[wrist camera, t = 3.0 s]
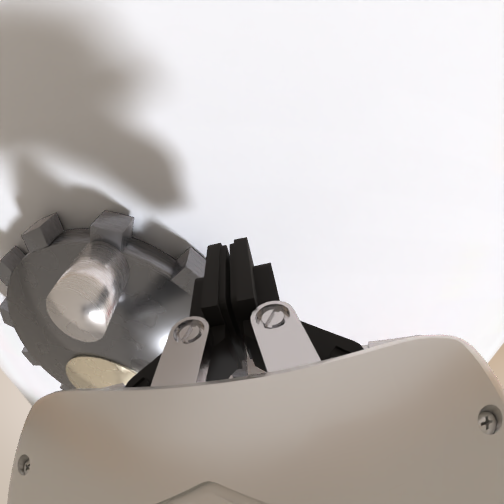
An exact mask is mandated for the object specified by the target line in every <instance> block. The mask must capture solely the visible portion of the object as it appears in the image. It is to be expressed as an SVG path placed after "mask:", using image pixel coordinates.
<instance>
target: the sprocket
mask: <svg viewBox="0 0 504 504" xmlns="http://www.w3.org/2000/svg"><path fill="white" fill-rule="evenodd" d="M133 223H134V217H131V216H127V215H123V214H119V213H115V212H111V211H107V210H105V211H104V212H103V213H102V214H101V215H100V216H99V217H98V218H97V219H96V220H95V221H94V222H93V223H92V224H91V225H90V229H85V228H82V229H71V230H65V231H63V230H64V229H63V227H62V224H61V222H60V220H59V217H58V215H57V213H54V214H52V215H50V216H47V217H45V218H43V219H41V220H39V221H37V222H36V223H35V224H34V225H32V226H31V227H30V228H29V229H28V230H27V231H25V232H24V233H23V234H22V235H21V236H22V238H23V240H24V242H25V244H26V246H27V248H28V250H29V253H28V254H27V255H25V254H24V253H23V252H22V251H21V250H20V249H19V248H18V247H17V246H15V247H14V248H13V249H11V250H10V251H9V252H8V253H7V254H6V255H5V256H4V257H3V258H2V259H1V261H0V280H1V281H2V282H3V283H4V284H5V285H6V286H8V290H7V297H6V298H5V300H4V301H3V302H2V303H1V305H0V312H1V315H2V318H3V321H4V323H6V324H8V325H10V326H12V327H14V328H15V330H16V332H17V334H18V336H19V338H20V340H21V341H22V343H23V344H24V346H25V347H24V348H23V350H22V353H23V354H24V355H25V357H26V358H27V359H28V360H29V361H30V362H31V363H32V365H41V366H42V368H44V369H45V370H46V371H47V372H48V373H49V374H50V375H51V376H53V377H54V378H55V379H56V380H58V381H59V382H60V383H62V384H61V386H60V388H61V389H62V390H67V389H78V388H103V387H108V386H112V385H116V384H120V383H124V385H126V384H127V382H128V381H129V380H130V379H131V378H132V377H133V376H135V375H136V374H137V373H138V372H139V371H141V370H142V369H143V368H144V367H146V366H147V365H148V364H149V363H150V362H152V361H153V360H154V359H155V358H156V357H158V356H159V355H160V354H161V353H162V352H163V349H164V346H165V344H166V341H167V338H168V335H169V333H170V331H171V329H172V327H173V326H174V325H175V324H176V323H177V322H179V321H180V320H182V319H184V318H187V317H189V316H190V309H191V302H192V295H193V288H194V282H195V279H196V278H201V277H204V273H205V264H206V259H204V258H203V257H202V256H201V255H200V254H199V253H197V252H196V251H195V250H194V249H193V248H192V247H190V248H189V249H187V250H186V251H185V252H184V253H183V254H182V255H181V256H180V257H179V258H178V259H177V260H175V259H174V258H172V257H171V256H169V255H167V254H166V253H164V252H162V251H160V250H159V249H157V248H155V247H153V246H151V245H149V244H147V243H144V242H142V241H140V240H138V239H135V238H132V230H133ZM246 349H247V348H246ZM242 366H243V369H238V370H236V371H235V372H234V373H233V374H232V376H233V378H237V377H244V376H248V373H247V361H246V360H243V361H242Z"/></svg>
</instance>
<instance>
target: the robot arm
mask: <svg viewBox="0 0 504 504" xmlns="http://www.w3.org/2000/svg"><path fill="white" fill-rule="evenodd" d="M246 348H247V351H248V354H249V356H250V359H253V361H254V364H255V366H257V367H258V368H260V369H262V370H264V371H266V373H261V374H256V375H250V376H244V377H237V378H233V376H232V374H233V373H234V372H235V371H236V370H238V369H243V366H242V361H243V360H247V355H246ZM7 504H504V388H503V387H502V385H501V383H500V382H499V380H498V379H497V377H496V375H495V374H494V372H493V371H492V369H491V368H490V367H489V365H488V364H487V362H486V361H485V360H484V358H483V357H482V356H481V355H480V354H479V353H478V351H477V350H476V349H475V348H474V347H473V346H472V345H470V344H469V343H468V342H466V341H465V340H463V339H461V338H458V337H455V336H449V335H416V336H410V337H403V338H395V339H388V340H379V341H370V342H368V345H362V346H361V345H360V344H358V343H357V342H355V341H353V340H350V339H347V338H344V337H342V336H339V335H336V334H333V333H331V332H328V331H325V330H323V329H320V328H318V327H315V326H312V325H310V324H307V323H305V322H302V321H300V320H299V318H298V316H297V314H296V312H295V311H294V309H293V308H292V306H291V305H290V304H288V303H286V302H282V301H280V300H279V295H278V291H277V287H276V283H275V279H274V275H273V271H272V267H271V263H267V264H262V265H258V266H254V264H253V260H252V256H251V252H250V248H249V244H248V240H247V237H245V238H241V239H236V240H234V243H233V244H230V255H229V252H228V249H227V246H226V245H224V246H222V245H221V243H218V244H214V245H209V246H208V248H207V256H206V264H205V273H204V277H201V278H196V279H195V282H194V288H193V295H192V302H191V309H190V316H189V317H187V318H184V319H182V320H180V321H179V322H177V323H176V324H175V325H174V326H173V327H172V329H171V331H170V333H169V335H168V338H167V341H166V344H165V346H164V349H163V352H162V353H161V354H160V355H159V356H158V357H156V358H155V359H154V360H153V361H152V362H150V363H149V364H148V365H147V366H146V367H144V368H143V369H142V370H141V371H139V372H138V373H137V374H136V375H135V376H133V377H132V378H131V379H130V380H129V381H128V382H127V384H126V385H124V383H120V384H116V385H112V386H108V387H103V388H78V389H67V390H61V391H57V392H53V393H51V394H48V395H45V396H44V397H42V398H40V399H39V400H37V401H36V402H35V403H34V405H33V406H32V408H31V410H30V412H29V414H28V416H27V419H26V421H25V424H24V427H23V430H22V433H21V436H20V439H19V443H18V446H17V450H16V454H15V458H14V464H13V468H12V473H11V479H10V485H9V493H8V503H7Z"/></svg>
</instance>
